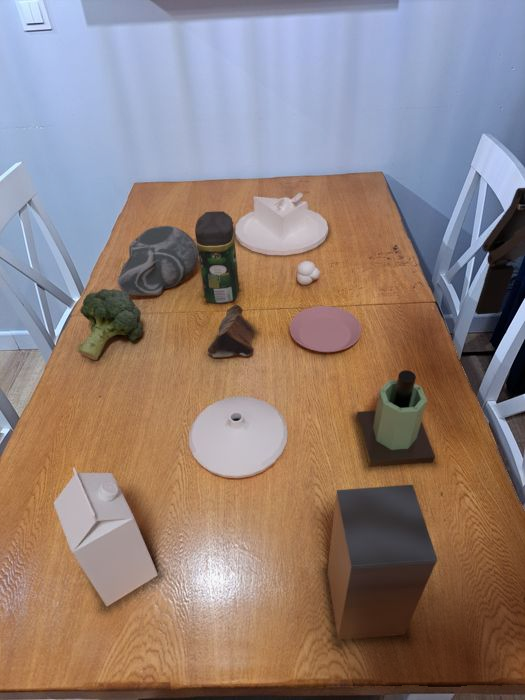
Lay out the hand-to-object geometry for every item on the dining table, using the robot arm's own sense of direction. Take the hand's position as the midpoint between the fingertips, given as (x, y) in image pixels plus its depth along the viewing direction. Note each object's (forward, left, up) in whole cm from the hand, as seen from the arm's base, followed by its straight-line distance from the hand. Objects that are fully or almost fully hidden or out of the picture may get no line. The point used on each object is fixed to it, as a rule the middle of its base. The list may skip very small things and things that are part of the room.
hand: (510, 347), depth 56 cm
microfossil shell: (+54, +16, -26) cm, 62 cm away
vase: (+9, +33, -26) cm, 43 cm away
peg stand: (+8, +8, -26) cm, 28 cm away
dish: (+79, +20, -26) cm, 85 cm away
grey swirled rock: (+58, +50, -26) cm, 81 cm away
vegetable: (+37, +58, -26) cm, 73 cm away
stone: (+36, +33, -26) cm, 55 cm away
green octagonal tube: (+8, +8, -25) cm, 27 cm away
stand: (-17, +18, -26) cm, 36 cm away
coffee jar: (+52, +36, -26) cm, 68 cm away
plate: (+35, +15, -26) cm, 46 cm away
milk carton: (-10, +49, -26) cm, 57 cm away
